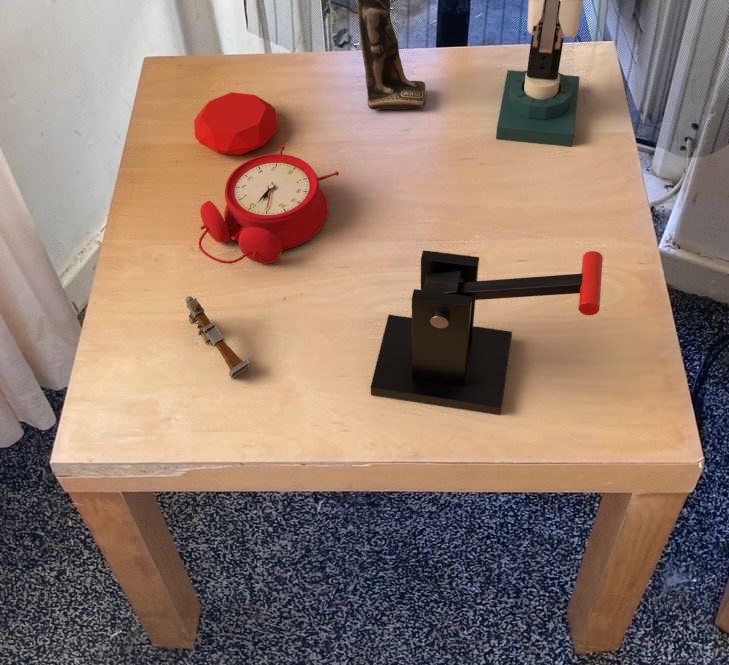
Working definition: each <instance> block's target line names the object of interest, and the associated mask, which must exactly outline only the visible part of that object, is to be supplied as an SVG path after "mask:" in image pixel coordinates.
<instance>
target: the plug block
mask: <svg viewBox="0 0 729 665" xmlns="http://www.w3.org/2000/svg"><path fill="white" fill-rule="evenodd" d="M526 73H527V70H513V69H508V70H506V75H505V76H506V77H505V80H504V81H505V82H504V88H503V93H502V97H501V102H500V109H499V114H498V120H497V125H496V133H495V139H496V140H503V141H511V142H512V141H513V142H522V143H523V142H524V143H532V144H541V145H552V146H561V147H562V146H563V147H564V146H565V147H572V146H573V140H574V137H575V136H574V135H575V126H576V118H577V117H576V116H577V107H578V97H579V88H580V77H581V76H579V75H568V74H563V73H561V72H560V71H559V72H558V73H559V75H560V82H559V88H558V93H557V94H556V96H554V97H553V98H549V99H545V100H543V99H534V98H532V97H530V96H528V95H526V93H525V91H524V85H525V76H526Z"/></svg>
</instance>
